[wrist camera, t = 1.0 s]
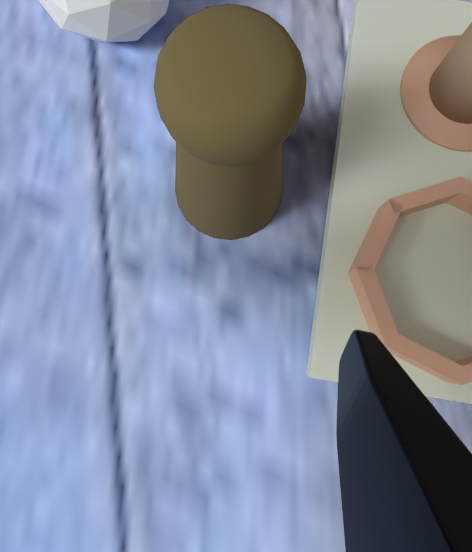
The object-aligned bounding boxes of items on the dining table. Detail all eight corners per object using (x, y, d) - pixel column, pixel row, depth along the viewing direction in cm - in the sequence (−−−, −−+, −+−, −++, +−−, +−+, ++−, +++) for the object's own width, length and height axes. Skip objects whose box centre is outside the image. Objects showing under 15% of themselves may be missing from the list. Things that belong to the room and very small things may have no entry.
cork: (278, 136, 24) (321, -33, 13) (285, 237, 23) (337, 144, 12) (174, 139, 24) (131, -30, 13) (176, 241, 23) (131, 150, 12)
